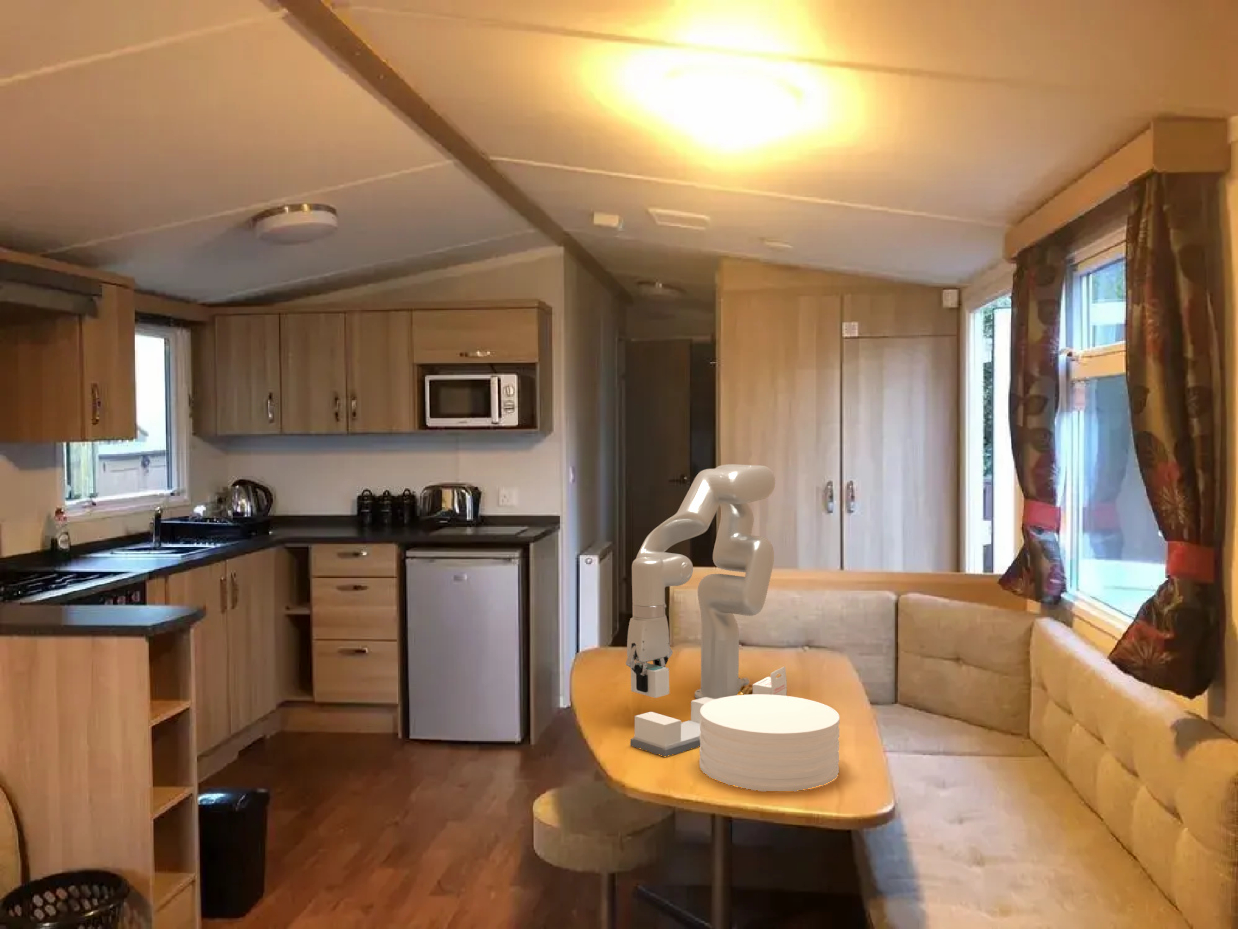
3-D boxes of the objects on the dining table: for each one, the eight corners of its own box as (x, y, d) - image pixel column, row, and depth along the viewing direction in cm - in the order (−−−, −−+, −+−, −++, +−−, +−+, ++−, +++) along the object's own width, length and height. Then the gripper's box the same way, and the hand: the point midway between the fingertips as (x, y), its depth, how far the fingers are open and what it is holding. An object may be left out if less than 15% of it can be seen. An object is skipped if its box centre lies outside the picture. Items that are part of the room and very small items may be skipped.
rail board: (704, 724, 237) (704, 696, 237) (739, 734, 230) (739, 705, 230) (630, 746, 221) (630, 715, 221) (665, 757, 213) (665, 726, 213)
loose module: (644, 687, 242) (644, 661, 241) (669, 693, 236) (668, 667, 236) (631, 691, 239) (630, 665, 238) (655, 698, 233) (655, 671, 233)
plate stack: (722, 740, 226) (722, 689, 226) (850, 756, 215) (850, 702, 215) (680, 780, 200) (681, 722, 200) (823, 801, 189) (824, 740, 189)
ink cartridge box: (766, 726, 236) (767, 663, 236) (786, 729, 234) (787, 665, 233) (751, 735, 229) (751, 670, 228) (771, 739, 226) (772, 673, 226)
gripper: (662, 603, 245) (663, 678, 246) (611, 614, 233) (612, 693, 234) (685, 607, 239) (686, 684, 240) (634, 619, 228) (635, 700, 229)
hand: (650, 688), depth 237 cm, fingers closed on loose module, 4 cm apart
